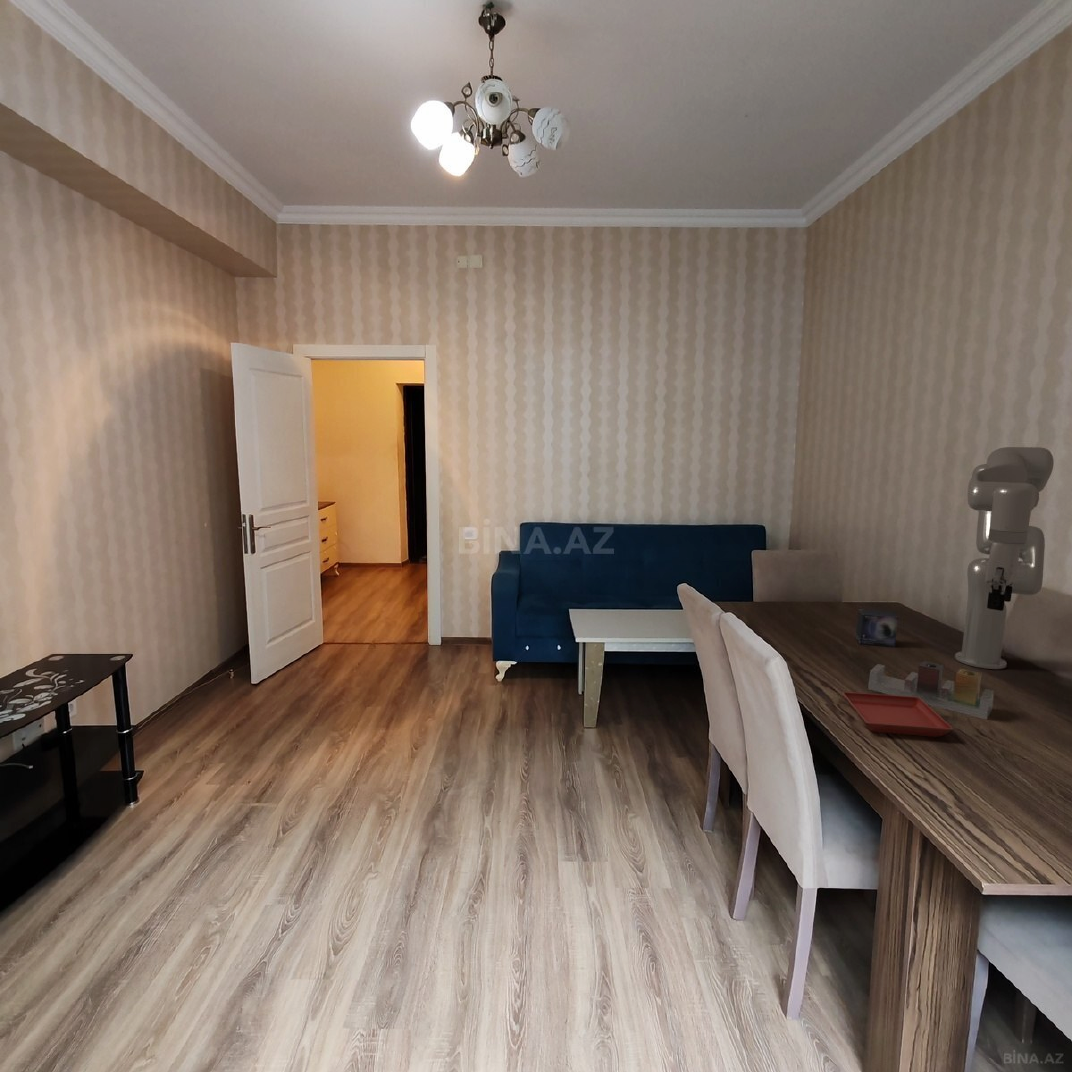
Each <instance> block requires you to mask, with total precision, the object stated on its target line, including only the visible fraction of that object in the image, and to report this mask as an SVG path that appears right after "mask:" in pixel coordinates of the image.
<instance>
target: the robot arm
mask: <svg viewBox="0 0 1072 1072" xmlns="http://www.w3.org/2000/svg"><path fill="white" fill-rule="evenodd" d="M1054 461H1055V460H1054V456H1053V454H1052V452H1051V451H1050V450H1049V449H1047V448H1045V447H1040V446H1037V447H1034V446H1033V447H1030V446H1029V447H1028V446H1025V447H1023V446H1021V447H1020V446H1007V447H1000V448H997V449H995V450H993V451H992V452H991V453H990V454H989V455H988V457H987V461H986V463H982V464H979V465H977V466H976V467H974V468H973V471H972V473H971V478H970V480H969V482H968V486H967V504H968V505H969V508H971V509H972V510H974V511H978V516H977V517H978V518H977V528H976V539H975V541H976V542H975V543H976V549H977V551H978V552H979V553H981V554H984V555H988V557H987V558H986V557H983V558H982V557H981V558H977V559H974V560H972V561H971V562H970V563H969V564H968V567H967V570H966V572H967V574H966V575H967V591H968V592H967V603H966V614H965V621H964V628H963V639H962V647H961V651H958V652H956V653H955V655H954V658H955V660H957V661H958V662H960V663H962V664H964V665H967V666H970V667H976V668H979V669H980V668H981V669H985V670H1002V669H1005V668H1007V661H1006V660H1005V659H1004V658H1001V657H1002V649H1003V642H1004V635H1005V634H1004V633H1005V625H1006V617H1007V613H1008V609H1007V605H1006V603H1010V602H1011V600H1012V594H1015V595H1024V596H1034V595H1037V594H1038V593H1039V592H1041V589H1042V587H1043V579H1044V565H1045V545H1046V543H1045V542H1046V540H1045V534H1044V531H1043V530H1042V529H1041V528H1039V527H1037V526H1033V525H1030V522H1031V515H1032V511H1034V510H1035V508H1037V506H1038V505H1039V504H1038V503H1039V501H1040V493H1041V492H1042V491H1044V489H1045V488H1046V486H1047V483H1048V481H1049V480H1050V477H1051V475H1052V473H1053V470H1054ZM1019 559H1021V560H1019ZM1005 602H1006V603H1005Z"/></svg>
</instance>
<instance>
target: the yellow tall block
mask: <svg viewBox="0 0 1072 1072" xmlns="http://www.w3.org/2000/svg"><path fill="white" fill-rule="evenodd" d="M982 674H983V673H982V672H979V671H978V672H977V671H974V670H973V671H972V670H968V669H965V668H959V669H958V670H957V671H956V673H955V680H954V690H953V692H954V697H953V700H955V701H959V702H963V703H967V704H971V705H976V703H977V702H978V700H979V698H980V691H981V682H982Z"/></svg>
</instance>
